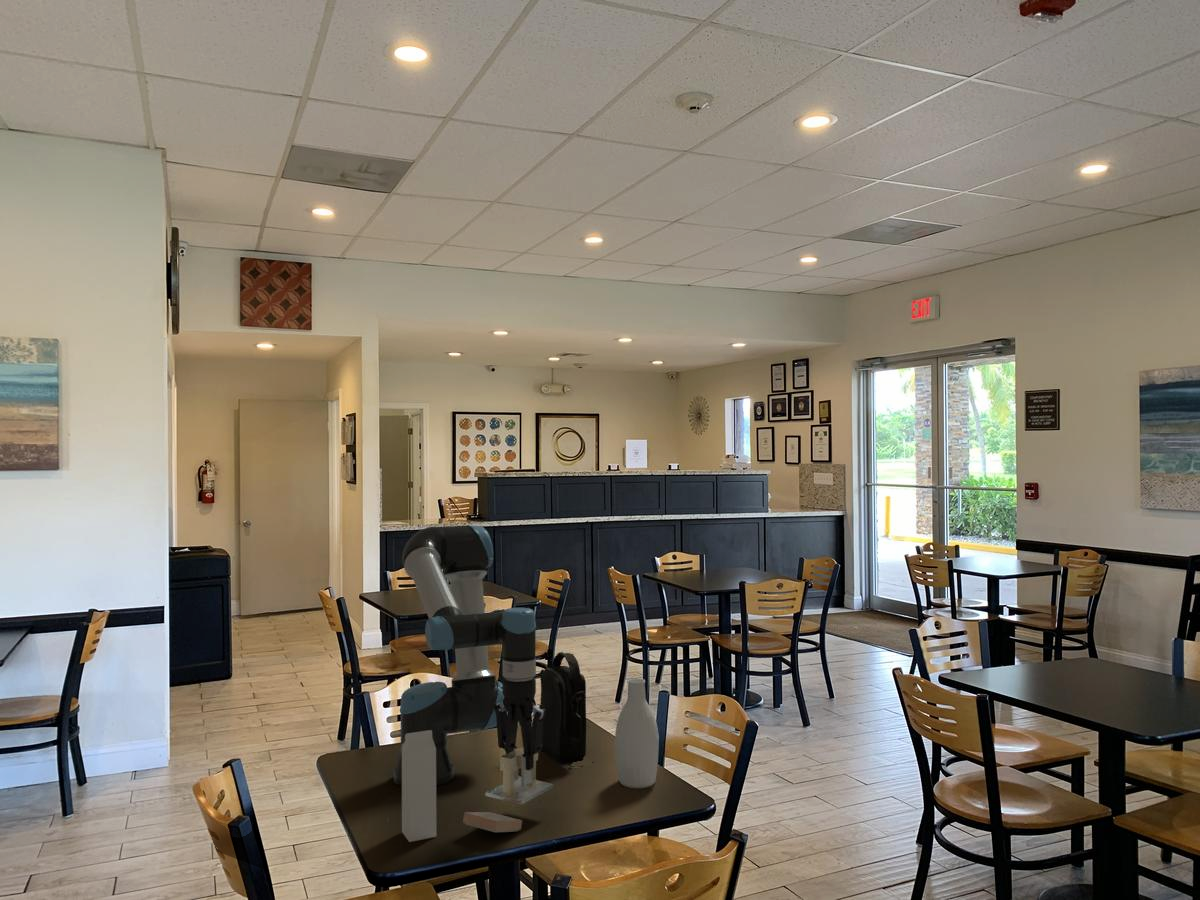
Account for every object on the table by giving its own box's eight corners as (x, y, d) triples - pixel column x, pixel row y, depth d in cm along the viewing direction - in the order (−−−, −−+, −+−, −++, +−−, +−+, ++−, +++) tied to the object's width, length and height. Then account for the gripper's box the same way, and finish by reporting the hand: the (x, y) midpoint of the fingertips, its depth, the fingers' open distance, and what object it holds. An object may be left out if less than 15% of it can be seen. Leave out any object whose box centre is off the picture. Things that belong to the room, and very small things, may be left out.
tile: (488, 823, 194) (462, 823, 187) (490, 812, 195) (464, 812, 188) (520, 831, 190) (495, 832, 182) (522, 820, 190) (497, 821, 183)
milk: (401, 832, 190) (400, 730, 190) (429, 827, 192) (428, 726, 193) (409, 842, 184) (408, 737, 185) (437, 836, 187) (436, 733, 188)
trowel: (518, 779, 205) (518, 741, 205) (553, 787, 199) (553, 747, 200) (485, 795, 195) (485, 755, 195) (521, 804, 189) (520, 762, 189)
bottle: (662, 776, 223) (661, 676, 224) (655, 791, 212) (654, 686, 213) (620, 773, 226) (619, 674, 226) (610, 788, 215) (609, 684, 215)
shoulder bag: (596, 764, 233) (595, 659, 233) (565, 769, 229) (564, 662, 229) (564, 741, 253) (563, 644, 254) (534, 745, 249) (533, 647, 250)
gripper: (481, 676, 199) (481, 780, 198) (537, 685, 190) (538, 794, 190) (501, 670, 205) (502, 771, 204) (557, 678, 196) (558, 783, 196)
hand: (519, 782), depth 197 cm, fingers closed on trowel, 3 cm apart
